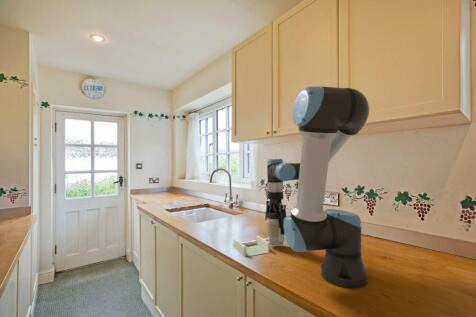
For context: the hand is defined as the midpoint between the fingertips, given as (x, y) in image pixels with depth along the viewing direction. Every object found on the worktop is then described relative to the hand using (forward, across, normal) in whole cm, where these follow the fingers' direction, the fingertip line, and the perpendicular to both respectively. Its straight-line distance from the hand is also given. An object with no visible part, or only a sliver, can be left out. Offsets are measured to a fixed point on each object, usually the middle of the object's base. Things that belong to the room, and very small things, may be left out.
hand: (275, 238), depth 114 cm
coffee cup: (+3, 0, 0) cm, 3 cm away
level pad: (+4, 0, +12) cm, 13 cm away
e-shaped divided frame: (+4, +3, +6) cm, 8 cm away
